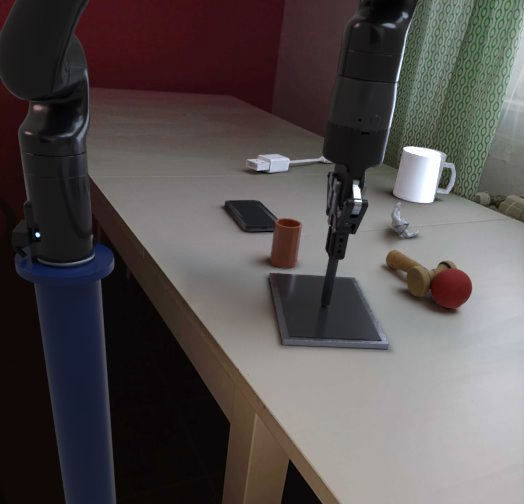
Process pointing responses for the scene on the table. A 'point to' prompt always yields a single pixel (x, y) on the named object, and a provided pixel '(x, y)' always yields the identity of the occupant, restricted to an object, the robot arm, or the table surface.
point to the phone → (251, 215)
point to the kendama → (434, 280)
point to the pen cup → (285, 242)
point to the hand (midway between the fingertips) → (334, 255)
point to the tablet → (324, 313)
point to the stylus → (329, 282)
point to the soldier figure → (400, 223)
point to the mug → (421, 174)
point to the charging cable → (276, 163)
